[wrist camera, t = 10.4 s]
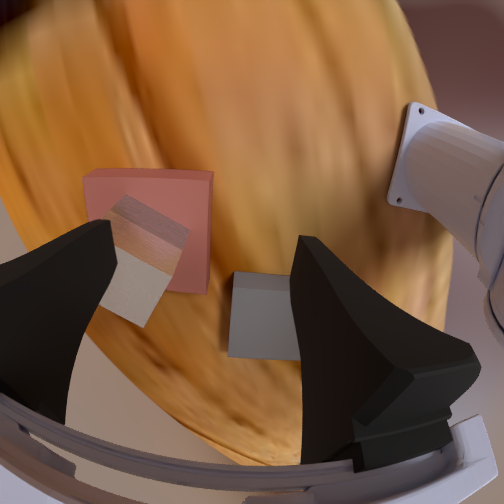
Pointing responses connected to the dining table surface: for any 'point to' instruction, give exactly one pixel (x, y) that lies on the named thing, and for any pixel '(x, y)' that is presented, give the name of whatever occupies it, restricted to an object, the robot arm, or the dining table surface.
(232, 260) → the dining table surface
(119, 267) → the grey cube
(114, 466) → the robot arm
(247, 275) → the stand
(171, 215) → the stand
